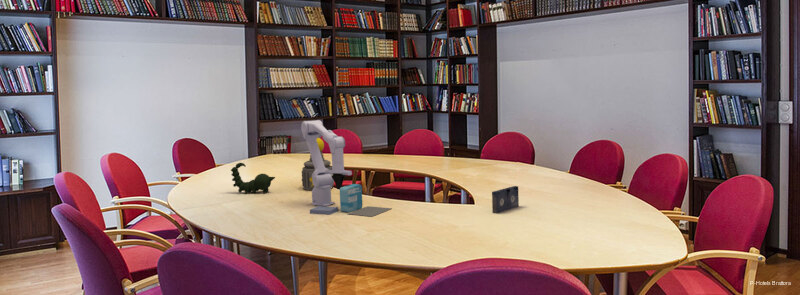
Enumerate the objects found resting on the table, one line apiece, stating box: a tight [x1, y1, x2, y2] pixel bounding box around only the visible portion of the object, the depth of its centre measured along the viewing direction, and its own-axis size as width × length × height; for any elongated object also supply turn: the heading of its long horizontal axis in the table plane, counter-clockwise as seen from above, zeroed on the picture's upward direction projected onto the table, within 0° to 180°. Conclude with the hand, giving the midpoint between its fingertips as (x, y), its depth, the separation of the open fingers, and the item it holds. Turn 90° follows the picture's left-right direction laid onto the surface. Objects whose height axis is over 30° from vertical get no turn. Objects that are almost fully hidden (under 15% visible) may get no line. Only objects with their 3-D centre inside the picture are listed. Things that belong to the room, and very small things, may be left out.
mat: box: [347, 205, 392, 218], centre depth 300 cm, size 14×18×1 cm
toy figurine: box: [230, 162, 276, 195], centre depth 360 cm, size 9×19×25 cm
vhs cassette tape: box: [491, 185, 520, 214], centre depth 293 cm, size 18×3×10 cm, turn 135°
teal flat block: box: [339, 183, 363, 213], centre depth 304 cm, size 12×4×12 cm, turn 146°
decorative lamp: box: [301, 137, 335, 192], centre depth 367 cm, size 19×19×30 cm
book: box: [309, 205, 339, 216], centre depth 302 cm, size 11×8×2 cm
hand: (339, 189), depth 307 cm, fingers closed
